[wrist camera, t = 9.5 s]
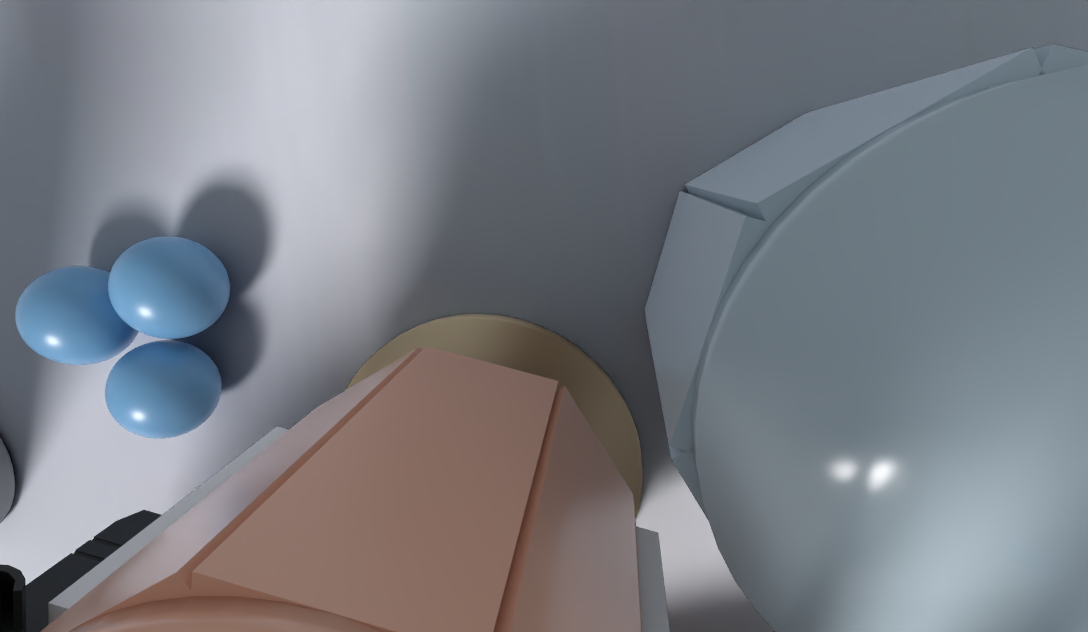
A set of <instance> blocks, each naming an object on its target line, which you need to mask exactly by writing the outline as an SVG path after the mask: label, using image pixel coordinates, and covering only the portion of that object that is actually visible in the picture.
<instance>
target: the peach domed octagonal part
mask: <svg viewBox="0 0 1088 632" xmlns="http://www.w3.org/2000/svg"><path fill="white" fill-rule="evenodd" d="M557 384H558V381H556V380H553V379H549V378H545V377H541V376H538V375H534V374H530V373H526V372H523V371H519V370H515V369H511V368H508V367H504V366H500V365H496V364H493V363H489V362H485V361H482V360H478V359H474V358H470V357H467V356H463V355H459V354H455V353H452V352H448V351H444V350H440V349H437V348H433V347H429V346H426V347H425V348H424V349H423V350H421V349H420V347H418V348H416V349H415V350H413V351H411V352H409V353H408V354H406V355H404V356H403V357H401V358H399V359H398V360H396V361H394V362H393V363H391V364H389V365H387V366H386V367H384V368H382V369H381V370H379V371H377V372H376V373H374V374H372V375H370V376H369V377H367V378H365V379H364V380H362V381H360V382H359V383H357V384H355V385H354V386H352V387H350V388H348V389H347V390H345V391H343V392H342V393H340V394H338V395H337V396H335V397H333V398H331V399H330V400H328V401H326V402H325V403H323V404H321V405H320V406H318V407H316V408H315V409H314V410H313V411H311V412H310V413H309V414H308V415H306V416H305V417H304V418H303V419H302V420H300V421H299V422H298V423H297V424H295V425H294V426H293V427H292V428H290V429H289V430H288V431H287V432H286V433H284V434H283V435H282V436H281V437H279V438H278V439H277V440H276V441H274V442H273V443H272V444H271V445H270V446H268V447H267V448H266V449H265V450H263V451H262V452H261V453H260V454H258V455H257V456H256V457H255V458H254V459H252V460H251V461H250V462H249V463H247V464H246V465H245V466H244V467H242V468H241V469H240V470H239V471H238V472H236V473H235V474H234V475H233V476H231V477H230V478H229V479H228V480H226V481H225V482H224V483H223V484H221V485H220V486H219V487H218V488H217V489H215V490H214V491H213V492H212V493H210V494H209V495H208V496H207V497H205V498H204V499H203V500H202V501H201V502H199V503H198V504H197V505H196V506H194V507H193V508H192V509H191V510H189V511H188V512H187V513H186V514H185V515H183V516H182V517H181V518H180V519H178V520H177V521H176V522H175V523H173V524H172V525H171V526H170V527H169V528H167V529H166V530H165V531H164V532H162V533H161V534H160V535H159V536H157V537H156V538H155V539H154V540H153V541H151V542H150V543H149V544H148V545H146V546H145V547H144V548H143V549H141V550H140V551H139V552H138V553H137V554H135V555H134V556H133V557H132V558H130V559H129V560H128V561H127V562H125V563H124V564H123V565H122V566H121V567H119V568H118V569H117V570H116V571H114V572H113V573H112V574H111V575H109V576H108V577H107V578H106V579H105V580H103V581H102V582H101V583H100V584H98V585H97V586H96V587H95V588H93V589H92V590H91V591H90V592H88V593H87V594H86V595H85V596H84V597H82V598H81V599H80V600H79V601H77V602H76V603H75V604H74V605H72V606H71V607H70V608H69V609H68V610H66V611H65V612H64V613H63V614H61V615H60V616H59V617H58V618H56V619H55V620H54V621H53V622H52V623H50V624H49V625H48V626H47V627H45V628H44V629H43V630H42V631H40V632H642V624H641V607H640V590H639V573H638V556H637V540H636V523H635V506H634V498H633V493H632V492H631V490H630V489H629V487H628V485H627V484H626V482H625V481H624V479H623V478H622V476H621V474H620V473H619V471H618V470H617V468H616V466H615V465H614V463H613V462H612V460H611V458H610V457H609V455H608V454H607V452H606V450H605V449H604V447H603V446H602V444H601V442H600V441H599V439H598V438H597V436H596V434H595V433H594V431H593V430H592V428H591V427H590V425H589V423H588V422H587V420H586V419H585V417H584V415H583V414H582V412H581V411H580V409H579V407H578V406H577V404H576V403H575V401H574V399H573V398H572V396H571V395H570V393H569V391H568V390H567V388H566V387H565V386H564V387H562V388H560V389H558V390H556V388H557Z"/></svg>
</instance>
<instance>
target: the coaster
mask: <svg viewBox="0 0 1088 632" xmlns="http://www.w3.org/2000/svg"><path fill="white" fill-rule="evenodd" d="M426 346H429V347H433V348H437V349H440V350H444V351H448V352H452V353H455V354H459V355H463V356H467V357H470V358H474V359H478V360H482V361H485V362H489V363H493V364H496V365H500V366H504V367H508V368H511V369H515V370H519V371H523V372H526V373H530V374H534V375H538V376H541V377H545V378H549V379H553V380H556V381H558V384H557V388H556V390H558V389H560V388H562V387H564V386H565V387H566V388H567V390H568V391H569V393H570V395H571V396H572V398H573V399H574V401H575V403H576V404H577V406H578V407H579V409H580V411H581V412H582V414H583V415H584V417H585V419H586V420H587V422H588V423H589V425H590V427H591V428H592V430H593V431H594V433H595V434H596V436H597V438H598V439H599V441H600V442H601V444H602V446H603V447H604V449H605V450H606V452H607V454H608V455H609V457H610V458H611V460H612V462H613V463H614V465H615V466H616V468H617V470H618V471H619V473H620V474H621V476H622V478H623V479H624V481H625V482H626V484H627V485H628V487H629V489H630V490H631V492H632V493H633V498H634V506H635V518H636V516H637V512H638V508H639V504H640V500H641V493H642V482H643V472H642V456H641V447H640V442H639V437H638V432H637V429H636V426H635V423H634V420H633V417H632V415H631V412H630V410H629V408H628V406H627V404H626V402H625V400H624V398H623V396H622V394H621V393H620V391H619V390H618V389H617V387H616V386H615V384H614V383H613V381H612V380H611V379H610V377H609V376H608V375H607V374H606V373H605V372H604V370H603V369H602V368H601V367H600V366H599V365H598V364H597V363H596V362H595V361H594V360H593V359H592V358H591V357H589V356H588V355H587V354H586V353H585V352H584V351H582V350H581V349H580V348H579V347H577V346H576V345H574V344H573V343H571V342H570V341H568V340H566V339H565V338H563V337H562V336H560V335H558V334H556V333H554V332H552V331H550V330H548V329H546V328H544V327H542V326H539V325H536V324H533V323H530V322H527V321H524V320H521V319H517V318H512V317H507V316H502V315H492V314H462V315H453V316H448V317H443V318H438V319H435V320H432V321H429V322H426V323H423V324H420V325H418V326H416V327H414V328H412V329H410V330H408V331H406V332H404V333H402V334H400V335H399V336H397V337H396V338H394V339H393V340H392V341H390V342H389V343H387V344H386V345H384V346H383V347H382V348H381V349H379V350H378V351H377V352H376V353H375V354H374V355H373V356H371V357H370V358H369V359H368V360H367V361H366V362H365V363H364V364H363V365H362V367H361V368H360V369H359V371H358V372H357V373H356V374H355V376H354V377H353V378H352V380H351V382H350V383H349V385H348V387H347V389H348V388H350V387H352V386H354V385H355V384H357V383H359V382H360V381H362V380H364V379H365V378H367V377H369V376H370V375H372V374H374V373H376V372H377V371H379V370H381V369H382V368H384V367H386V366H387V365H389V364H391V363H393V362H394V361H396V360H398V359H399V358H401V357H403V356H404V355H406V354H408V353H409V352H411V351H413V350H415V349H416V348H418V347H420V349H421V350H423V349H424V348H425V347H426ZM347 389H346V390H347Z"/></svg>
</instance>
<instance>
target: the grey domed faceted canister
mask: <svg viewBox="0 0 1088 632" xmlns="http://www.w3.org/2000/svg"><path fill="white" fill-rule="evenodd" d="M685 186H686V188H687V190H688V192H689V193H686V192H682V191H679V195H678V198H677V202H676V205H675V208H674V212H673V215H672V218H671V222H670V225H669V229H668V232H667V235H666V239H665V242H664V246H663V249H662V252H661V256H660V259H659V262H658V266H657V269H656V273H655V276H654V279H653V283H652V286H651V290H650V293H649V296H648V300H647V303H646V306H645V315H646V323H647V328H648V334H649V339H650V345H651V350H652V356H653V361H654V367H655V372H656V378H657V383H658V389H659V394H660V400H661V405H662V411H663V416H664V422H665V427H666V433H667V438H668V444H669V449H670V455H671V459H672V461H673V463H674V464H675V466H676V468H677V469H678V471H679V473H680V474H681V476H682V478H683V479H684V481H685V482H686V484H687V486H688V487H689V489H690V491H691V492H692V494H693V496H694V497H695V499H696V501H697V502H698V504H699V506H700V507H701V509H702V511H703V512H704V514H705V516H706V517H707V519H708V520H709V523H710V526H711V529H712V531H713V534H714V537H715V540H716V543H717V546H718V549H719V551H720V553H721V555H722V556H723V558H724V560H725V562H726V564H727V566H728V568H729V570H730V572H731V574H732V576H733V578H734V580H735V582H736V583H737V584H738V586H739V587H740V589H741V590H742V591H743V593H744V594H745V596H746V597H747V598H748V600H749V601H750V603H751V604H752V605H753V607H754V608H755V610H756V611H757V612H758V613H759V614H760V615H761V617H762V618H763V619H764V620H765V621H766V622H767V623H768V624H769V625H770V626H771V627H772V628H773V629H774V630H775V631H776V632H1088V52H1087V51H1083V50H1078V49H1074V48H1070V47H1065V46H1061V45H1056V44H1050V45H1047V46H1043V47H1040V48H1036V49H1033V47H1032V48H1028V49H1025V50H1022V51H1018V52H1015V53H1011V54H1008V55H1004V56H1001V57H997V58H994V59H990V60H987V61H983V62H980V63H977V64H973V65H970V66H966V67H963V68H959V69H956V70H952V71H949V72H945V73H942V74H939V75H935V76H932V77H928V78H925V79H921V80H918V81H914V82H911V83H907V84H904V85H901V86H897V87H894V88H890V89H887V90H883V91H880V92H876V93H873V94H869V95H866V96H862V97H859V98H856V99H852V100H849V101H845V102H842V103H838V104H835V105H831V106H828V107H824V108H821V109H818V110H814V111H811V112H807V113H805V114H803V115H801V116H800V117H798V118H796V119H794V120H793V121H791V122H789V123H788V124H786V125H784V126H783V127H781V128H779V129H778V130H776V131H774V132H773V133H771V134H769V135H767V136H766V137H764V138H762V139H761V140H759V141H757V142H756V143H754V144H752V145H751V146H749V147H747V148H746V149H744V150H742V151H740V152H739V153H737V154H735V155H734V156H732V157H730V158H729V159H727V160H725V161H724V162H722V163H720V164H718V165H717V166H715V167H713V168H712V169H710V170H708V171H707V172H705V173H703V174H702V175H700V176H698V177H697V178H695V179H693V180H691V181H690V182H688V183H686V184H685Z"/></svg>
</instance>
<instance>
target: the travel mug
mask: <svg viewBox="0 0 1088 632" xmlns="http://www.w3.org/2000/svg"><path fill="white" fill-rule="evenodd" d="M14 493H15V478H14V470H13V465H12V462H11V459H10V456H9V453H8V451H7V449H6V447H5V445H4V443H3V441H2V439H1V438H0V523H1V522H2V521H3V520H4V518H5V516H6V515H7V513H8V512H9V510H10V508H11V505H12V502H13V499H14Z"/></svg>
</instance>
